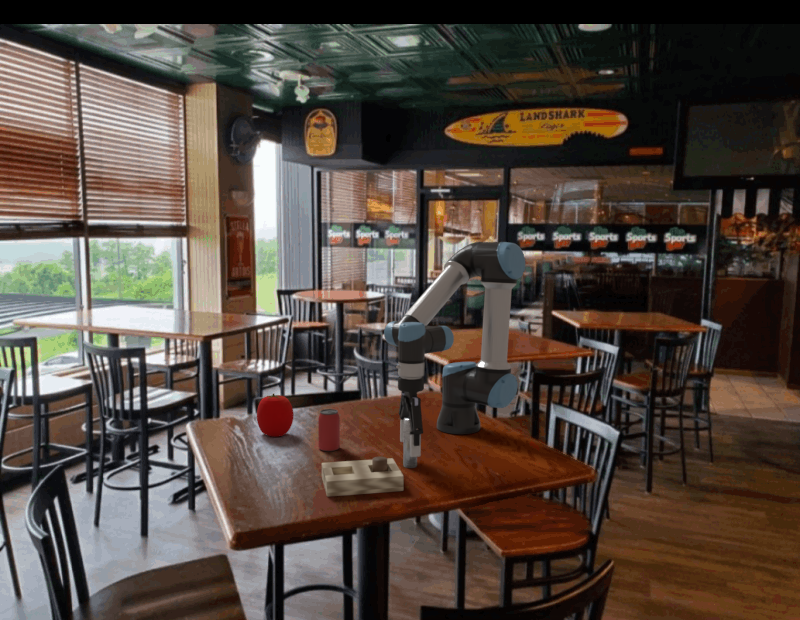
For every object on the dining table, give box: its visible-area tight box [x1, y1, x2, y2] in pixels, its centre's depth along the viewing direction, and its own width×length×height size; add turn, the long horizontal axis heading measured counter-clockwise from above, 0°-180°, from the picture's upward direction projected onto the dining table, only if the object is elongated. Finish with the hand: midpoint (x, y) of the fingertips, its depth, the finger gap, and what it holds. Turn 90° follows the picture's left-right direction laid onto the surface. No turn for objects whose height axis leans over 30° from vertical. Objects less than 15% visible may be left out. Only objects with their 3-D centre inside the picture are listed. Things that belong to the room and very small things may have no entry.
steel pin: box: [402, 417, 418, 469], centre depth 187 cm, size 4×4×14 cm
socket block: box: [321, 456, 404, 497], centre depth 174 cm, size 20×14×6 cm
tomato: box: [256, 393, 294, 438], centre depth 215 cm, size 13×11×14 cm
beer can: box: [317, 408, 341, 452], centre depth 202 cm, size 7×7×12 cm
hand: (409, 448), depth 187 cm, fingers open, 13 cm apart
